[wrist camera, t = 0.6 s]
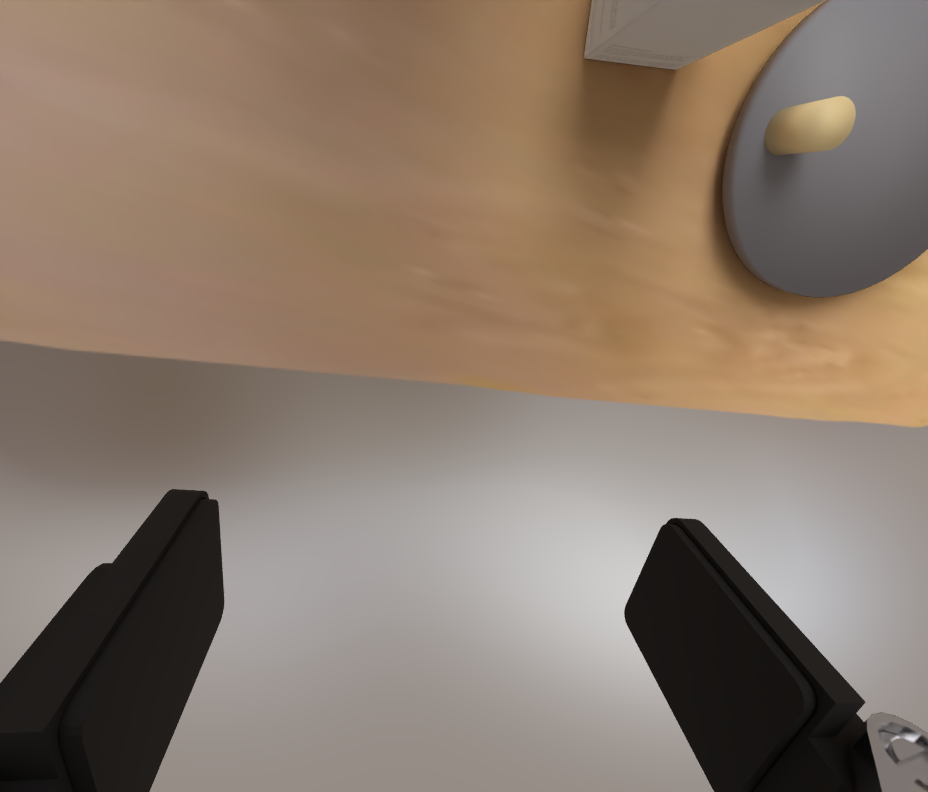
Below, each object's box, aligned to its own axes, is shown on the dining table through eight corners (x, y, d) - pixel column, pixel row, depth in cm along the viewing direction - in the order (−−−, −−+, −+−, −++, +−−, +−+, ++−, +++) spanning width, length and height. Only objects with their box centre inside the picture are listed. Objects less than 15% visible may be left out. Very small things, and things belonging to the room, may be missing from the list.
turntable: (801, -71, 28) (887, -127, 23) (1054, 12, 32) (1172, -21, 27) (682, 276, 37) (726, 289, 32) (892, 307, 41) (960, 323, 36)
